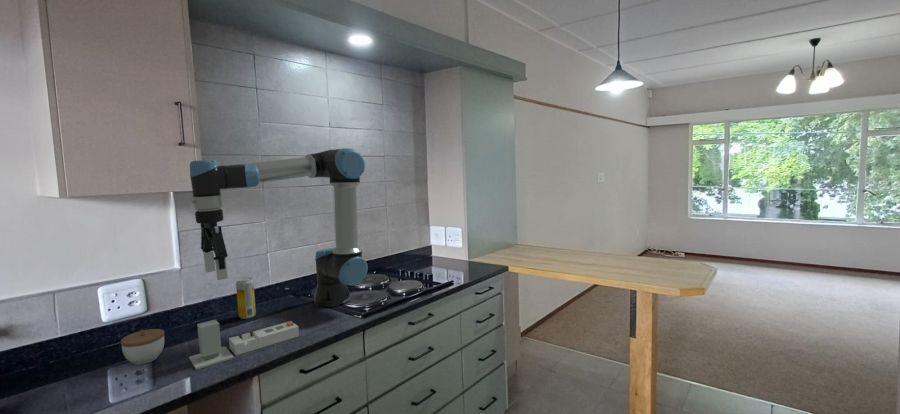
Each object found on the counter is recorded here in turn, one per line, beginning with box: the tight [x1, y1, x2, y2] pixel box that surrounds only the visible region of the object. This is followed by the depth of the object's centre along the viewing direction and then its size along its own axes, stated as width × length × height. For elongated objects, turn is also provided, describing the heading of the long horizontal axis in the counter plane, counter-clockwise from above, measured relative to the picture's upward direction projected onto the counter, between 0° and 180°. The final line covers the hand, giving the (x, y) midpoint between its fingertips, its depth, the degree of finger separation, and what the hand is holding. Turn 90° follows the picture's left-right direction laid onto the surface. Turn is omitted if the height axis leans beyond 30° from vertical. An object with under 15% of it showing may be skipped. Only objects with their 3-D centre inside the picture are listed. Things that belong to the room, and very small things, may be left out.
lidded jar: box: [120, 328, 165, 365], centre depth 125 cm, size 11×11×9 cm
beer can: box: [235, 277, 257, 320], centre depth 159 cm, size 6×6×15 cm
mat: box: [188, 345, 234, 371], centre depth 125 cm, size 10×10×1 cm
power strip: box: [228, 320, 300, 356], centre depth 136 cm, size 20×7×4 cm, turn 132°
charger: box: [196, 319, 222, 360], centre depth 125 cm, size 5×4×10 cm
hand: (216, 275), depth 130 cm, fingers open, 13 cm apart
